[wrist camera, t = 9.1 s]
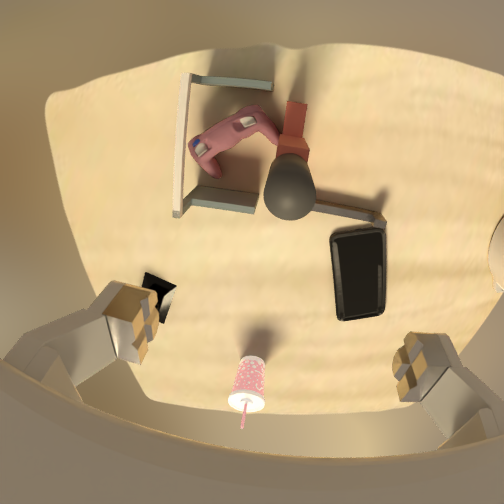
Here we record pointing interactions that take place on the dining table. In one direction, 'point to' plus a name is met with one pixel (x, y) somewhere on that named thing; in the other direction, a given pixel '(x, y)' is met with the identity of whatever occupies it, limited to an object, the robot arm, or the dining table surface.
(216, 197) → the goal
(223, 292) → the dining table surface
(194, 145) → the video game controller
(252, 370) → the beverage cup
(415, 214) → the dining table surface
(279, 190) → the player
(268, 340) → the dining table surface
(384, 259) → the phone
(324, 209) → the rail
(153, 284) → the black piece
